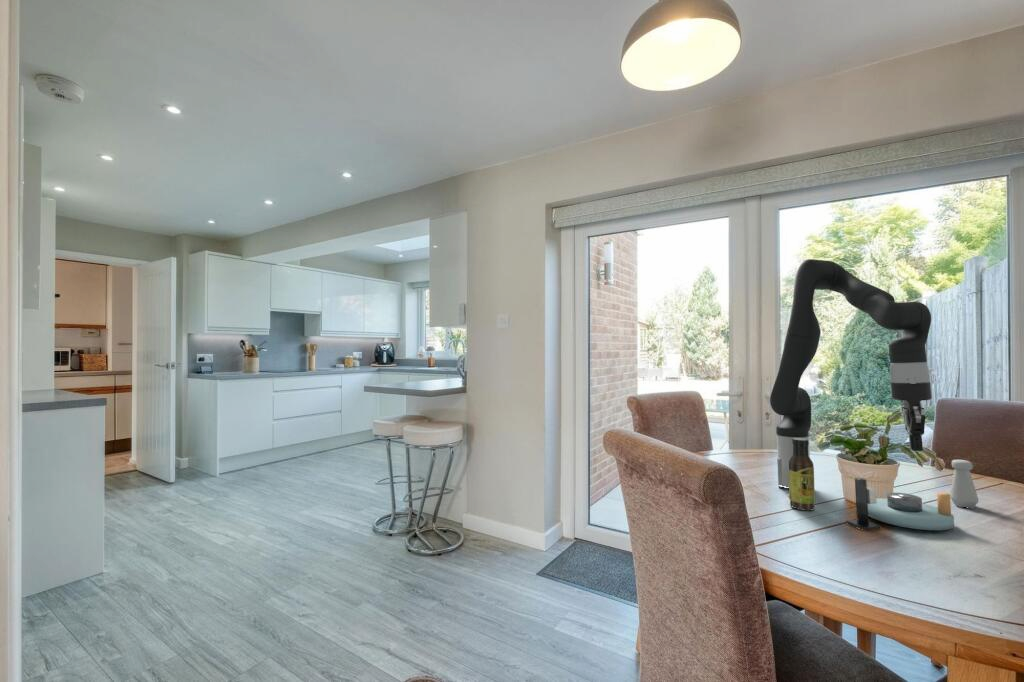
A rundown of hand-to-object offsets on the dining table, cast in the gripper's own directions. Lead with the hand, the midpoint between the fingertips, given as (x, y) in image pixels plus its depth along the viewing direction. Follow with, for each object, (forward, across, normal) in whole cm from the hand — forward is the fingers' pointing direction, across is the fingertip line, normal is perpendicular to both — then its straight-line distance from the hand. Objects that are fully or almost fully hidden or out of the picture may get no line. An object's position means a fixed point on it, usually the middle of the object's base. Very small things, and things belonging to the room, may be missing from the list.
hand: (916, 450), depth 112 cm
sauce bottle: (+19, -7, -25) cm, 33 cm away
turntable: (+19, -7, -2) cm, 20 cm away
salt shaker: (+20, -29, +14) cm, 38 cm away
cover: (+17, -8, -2) cm, 19 cm away
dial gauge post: (+20, +2, -12) cm, 23 cm away
